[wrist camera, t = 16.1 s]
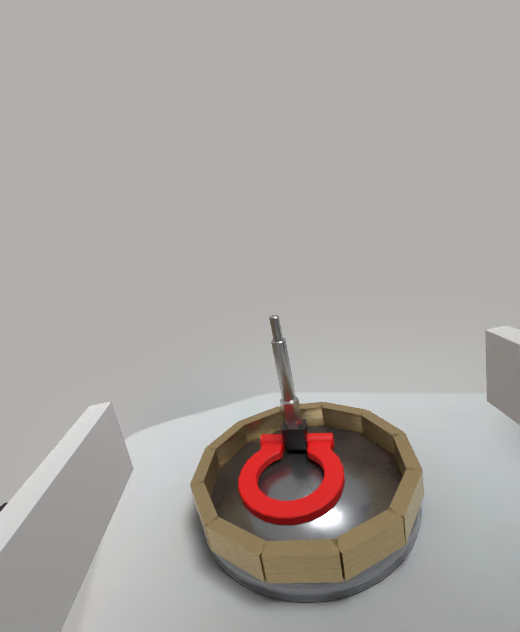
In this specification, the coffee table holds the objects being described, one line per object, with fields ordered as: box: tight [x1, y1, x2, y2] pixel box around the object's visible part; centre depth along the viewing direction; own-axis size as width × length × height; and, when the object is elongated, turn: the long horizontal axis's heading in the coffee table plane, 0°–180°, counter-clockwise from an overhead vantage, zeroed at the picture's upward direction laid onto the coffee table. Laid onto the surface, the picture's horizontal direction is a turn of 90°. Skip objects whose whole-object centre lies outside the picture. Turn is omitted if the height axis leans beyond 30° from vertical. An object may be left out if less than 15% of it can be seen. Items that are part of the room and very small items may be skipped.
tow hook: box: [238, 315, 345, 525], centre depth 27 cm, size 8×13×9 cm
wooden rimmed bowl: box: [190, 402, 424, 603], centre depth 29 cm, size 17×17×4 cm
